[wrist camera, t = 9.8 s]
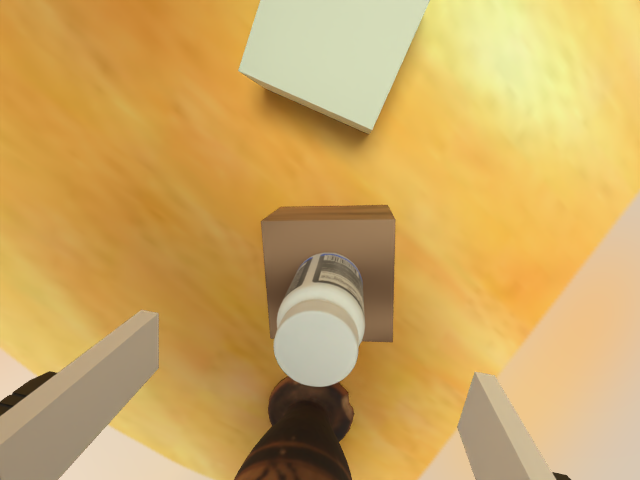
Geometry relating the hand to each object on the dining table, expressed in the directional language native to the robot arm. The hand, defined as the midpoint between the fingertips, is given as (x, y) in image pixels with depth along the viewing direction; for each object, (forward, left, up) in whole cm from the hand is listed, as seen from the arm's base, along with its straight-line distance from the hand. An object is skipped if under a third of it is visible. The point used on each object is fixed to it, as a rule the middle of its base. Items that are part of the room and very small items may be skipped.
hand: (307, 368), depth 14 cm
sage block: (-16, -2, -16) cm, 23 cm away
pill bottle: (0, 0, -10) cm, 10 cm away
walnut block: (0, 0, -16) cm, 16 cm away
